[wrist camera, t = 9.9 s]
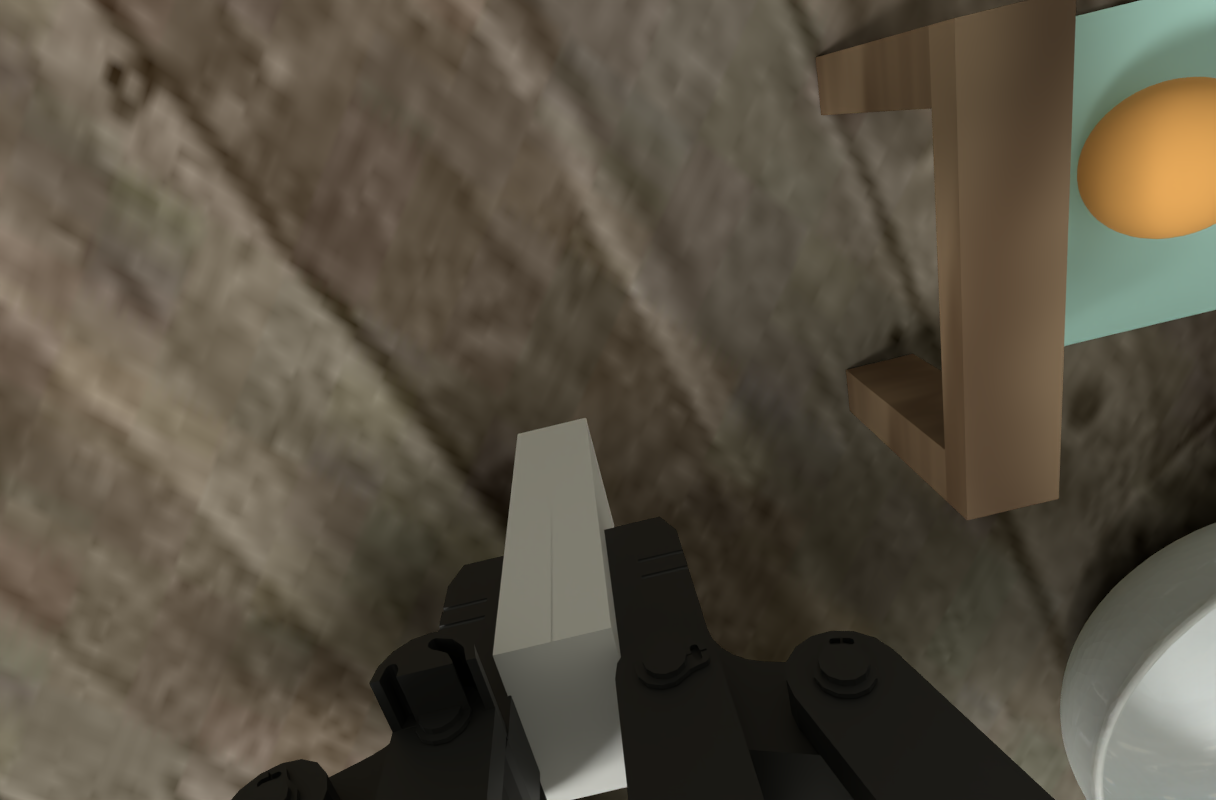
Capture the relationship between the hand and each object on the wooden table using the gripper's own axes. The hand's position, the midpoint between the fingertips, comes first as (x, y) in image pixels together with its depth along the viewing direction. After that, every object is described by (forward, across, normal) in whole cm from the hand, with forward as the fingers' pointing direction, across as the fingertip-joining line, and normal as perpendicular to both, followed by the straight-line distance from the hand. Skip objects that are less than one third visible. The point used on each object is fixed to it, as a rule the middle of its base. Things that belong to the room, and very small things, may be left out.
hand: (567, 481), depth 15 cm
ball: (+11, -23, -1) cm, 25 cm away
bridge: (+14, -13, 0) cm, 19 cm away
